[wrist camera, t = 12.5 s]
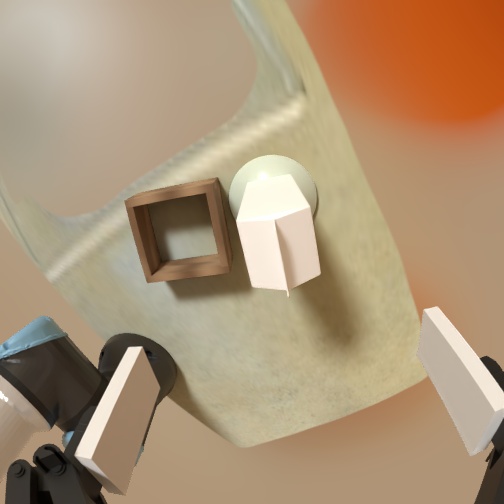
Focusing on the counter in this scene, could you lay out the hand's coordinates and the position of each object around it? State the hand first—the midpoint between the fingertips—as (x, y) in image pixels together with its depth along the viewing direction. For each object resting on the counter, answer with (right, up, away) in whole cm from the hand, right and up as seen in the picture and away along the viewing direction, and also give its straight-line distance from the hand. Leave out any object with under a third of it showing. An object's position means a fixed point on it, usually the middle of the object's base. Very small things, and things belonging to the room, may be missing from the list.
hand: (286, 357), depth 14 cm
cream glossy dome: (+1, +12, +30) cm, 33 cm away
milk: (+1, +12, +30) cm, 32 cm away
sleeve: (-11, +9, +32) cm, 35 cm away
